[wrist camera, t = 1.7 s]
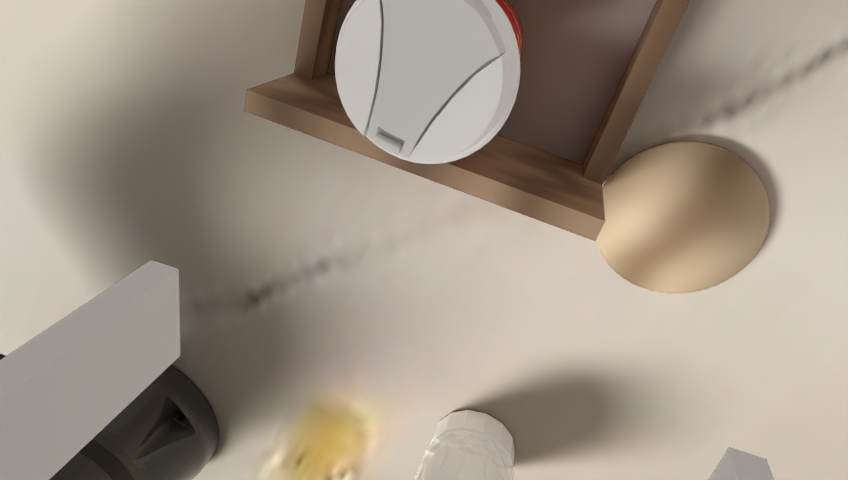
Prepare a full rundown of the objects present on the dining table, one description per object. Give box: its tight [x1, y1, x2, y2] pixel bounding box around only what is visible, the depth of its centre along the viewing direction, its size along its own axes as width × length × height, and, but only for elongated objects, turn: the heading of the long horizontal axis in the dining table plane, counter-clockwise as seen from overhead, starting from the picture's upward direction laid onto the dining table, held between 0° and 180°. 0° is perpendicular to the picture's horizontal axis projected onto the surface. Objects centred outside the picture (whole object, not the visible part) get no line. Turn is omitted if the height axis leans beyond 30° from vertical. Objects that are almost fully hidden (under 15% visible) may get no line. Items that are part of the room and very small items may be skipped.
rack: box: [244, 0, 690, 241], centre depth 30 cm, size 20×15×8 cm
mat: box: [596, 141, 770, 294], centre depth 35 cm, size 10×10×1 cm
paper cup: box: [335, 0, 523, 164], centre depth 28 cm, size 8×8×14 cm
